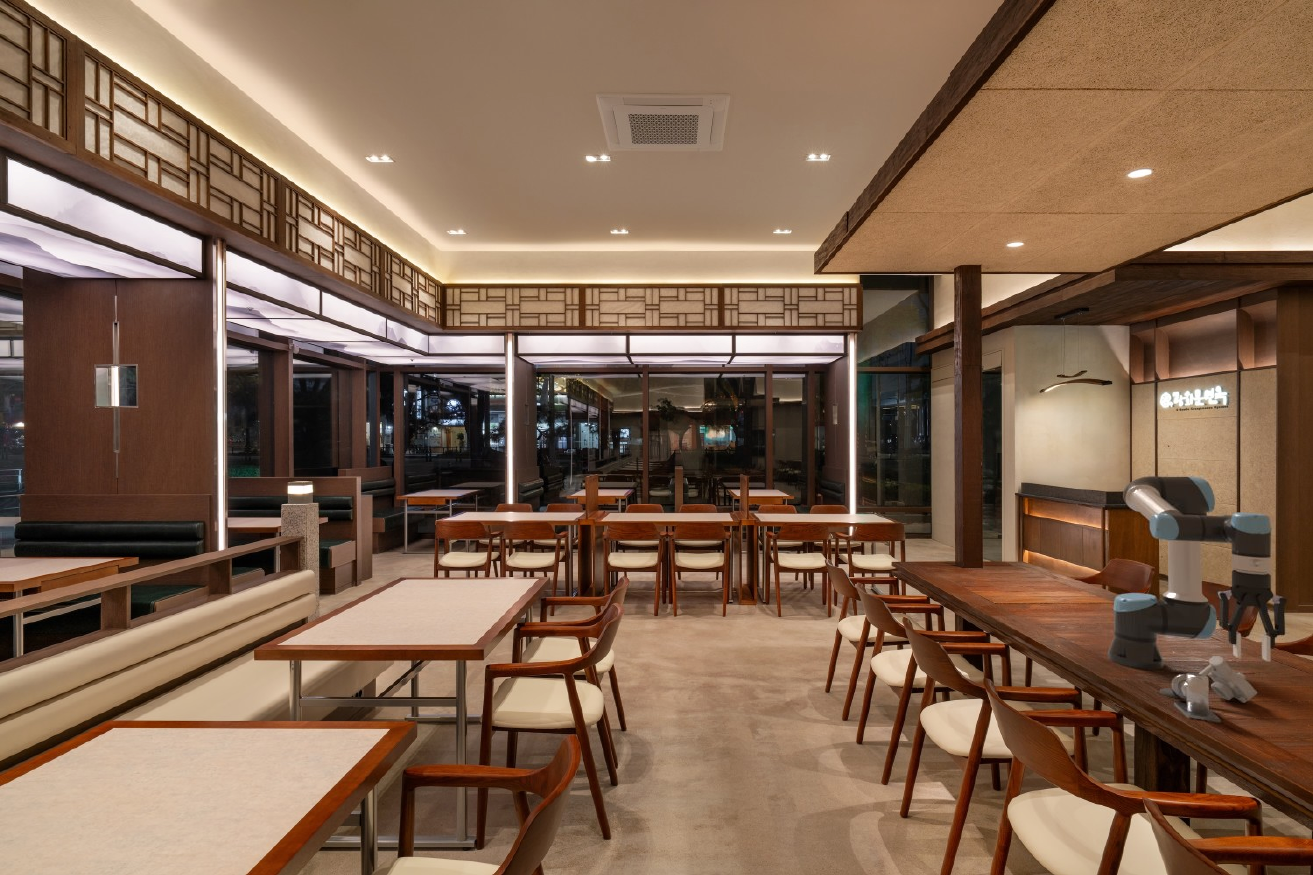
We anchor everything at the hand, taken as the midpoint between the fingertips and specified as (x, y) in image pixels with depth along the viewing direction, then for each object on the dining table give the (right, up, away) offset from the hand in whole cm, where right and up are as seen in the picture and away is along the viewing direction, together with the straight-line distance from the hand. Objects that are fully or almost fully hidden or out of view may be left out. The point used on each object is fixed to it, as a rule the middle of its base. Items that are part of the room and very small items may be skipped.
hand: (1251, 657), depth 162 cm
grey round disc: (-3, -19, +21) cm, 29 cm away
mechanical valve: (+9, -22, +17) cm, 30 cm away
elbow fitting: (-7, -19, +9) cm, 22 cm away
